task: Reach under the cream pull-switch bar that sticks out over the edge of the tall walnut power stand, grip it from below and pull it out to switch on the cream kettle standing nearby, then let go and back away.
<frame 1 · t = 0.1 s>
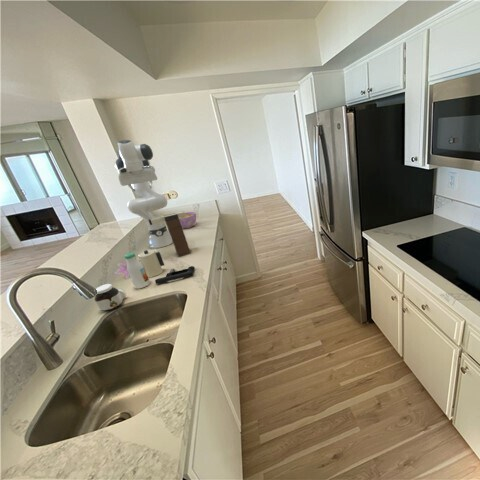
hand: (142, 189, 170), 48 cm above the worktop, tool pointing down, fingers open, 8 cm apart
lily: (130, 275, 167), on the worktop
switch bar: (167, 217, 179), point 27 cm above the worktop, slide at 0.0 cm
milk bottle: (142, 285, 153), on the worktop
kettle: (154, 273, 165), on the worktop
bowl of food: (188, 227, 248), on the worktop
power stand: (183, 252, 191), on the worktop
spread jar: (115, 304, 137), on the worktop
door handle: (177, 275, 159), on the worktop
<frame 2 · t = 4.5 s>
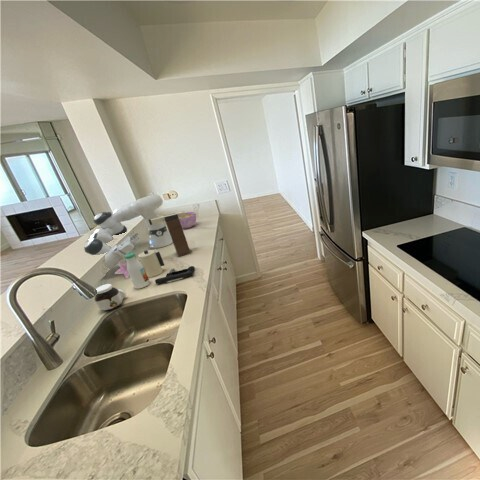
hand: (137, 235, 172), 21 cm above the worktop, tool pointing upward, fingers open, 8 cm apart
nothing on the worktop moved.
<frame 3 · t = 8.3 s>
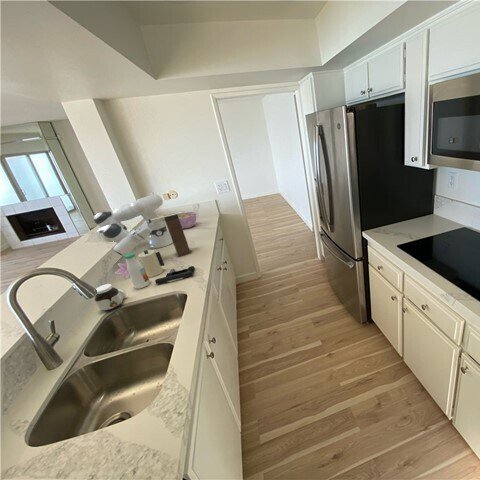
hand: (154, 220, 175), 28 cm above the worktop, tool pointing upward, fingers closed on switch bar, 3 cm apart
switch bar: (167, 217, 179), point 27 cm above the worktop, slide at 0.0 cm, touching gripper
everything else where it was.
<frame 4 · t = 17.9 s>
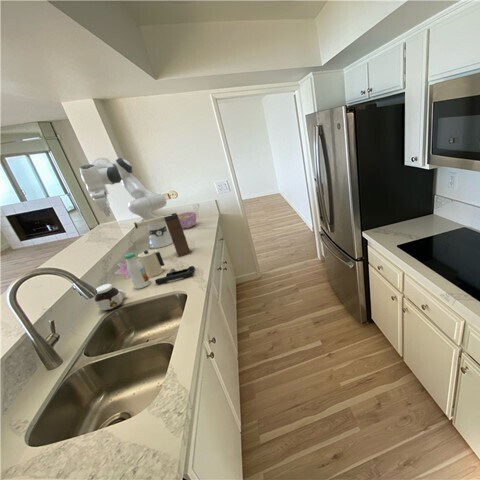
hand: (108, 214, 164), 37 cm above the worktop, tool pointing down, fingers open, 8 cm apart
switch bar: (154, 221, 175), point 27 cm above the worktop, slide at 8.1 cm
everything else where it was.
at the end: switch bar slide at 8.1 cm; the gripper is holding nothing; kettle moved 0.0 cm from its start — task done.
